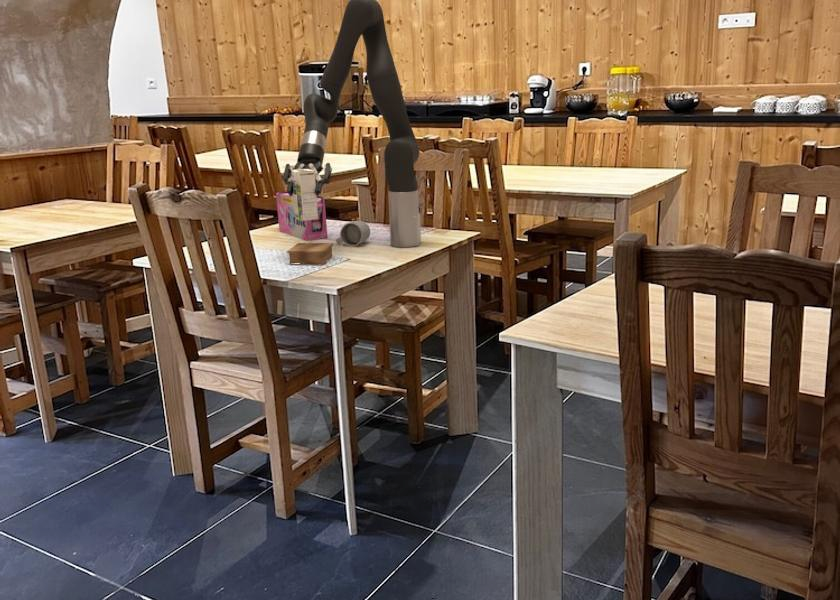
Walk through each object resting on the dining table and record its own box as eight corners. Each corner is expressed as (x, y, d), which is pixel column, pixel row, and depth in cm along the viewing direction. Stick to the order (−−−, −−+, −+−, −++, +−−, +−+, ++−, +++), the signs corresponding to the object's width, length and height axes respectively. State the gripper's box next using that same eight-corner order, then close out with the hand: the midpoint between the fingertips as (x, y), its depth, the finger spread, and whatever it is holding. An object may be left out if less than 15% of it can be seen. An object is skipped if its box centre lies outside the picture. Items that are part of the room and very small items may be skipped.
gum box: (330, 238, 261) (327, 197, 257) (308, 241, 257) (305, 200, 253) (298, 227, 280) (295, 190, 276) (278, 230, 276) (275, 192, 272)
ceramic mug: (372, 241, 253) (370, 218, 251) (362, 247, 246) (361, 223, 244) (342, 241, 257) (340, 218, 254) (332, 246, 249) (330, 222, 247)
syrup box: (294, 218, 233) (290, 169, 229) (313, 216, 236) (309, 168, 231) (299, 221, 228) (295, 171, 224) (319, 219, 231) (315, 169, 226)
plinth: (334, 256, 235) (333, 243, 234) (324, 264, 225) (323, 251, 224) (299, 255, 237) (298, 242, 236) (288, 264, 227) (287, 251, 225)
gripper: (285, 142, 234) (276, 187, 226) (331, 141, 231) (323, 186, 224) (293, 158, 241) (284, 202, 233) (338, 157, 238) (330, 201, 230)
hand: (303, 194), depth 228 cm, fingers closed on syrup box, 7 cm apart
